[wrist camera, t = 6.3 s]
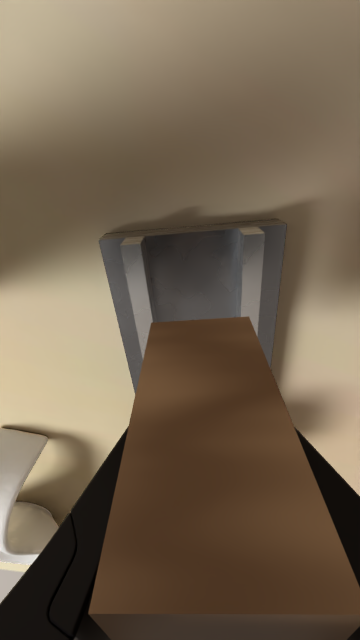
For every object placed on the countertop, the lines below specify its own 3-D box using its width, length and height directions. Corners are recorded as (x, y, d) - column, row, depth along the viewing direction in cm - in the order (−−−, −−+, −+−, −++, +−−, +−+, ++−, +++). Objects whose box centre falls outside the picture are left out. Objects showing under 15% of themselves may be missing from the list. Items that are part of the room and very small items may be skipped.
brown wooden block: (249, 316, 9) (370, 614, 3) (243, 423, 12) (300, 687, 6) (151, 322, 9) (88, 614, 3) (168, 426, 12) (151, 684, 6)
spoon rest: (72, 539, 38) (50, 613, 31) (-15, 527, 36) (-56, 602, 30) (84, 437, 26) (52, 523, 20) (-44, 414, 25) (-121, 499, 18)
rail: (278, 218, 15) (297, 230, 12) (255, 452, 26) (263, 484, 24) (105, 233, 16) (90, 247, 13) (155, 456, 27) (152, 487, 24)
